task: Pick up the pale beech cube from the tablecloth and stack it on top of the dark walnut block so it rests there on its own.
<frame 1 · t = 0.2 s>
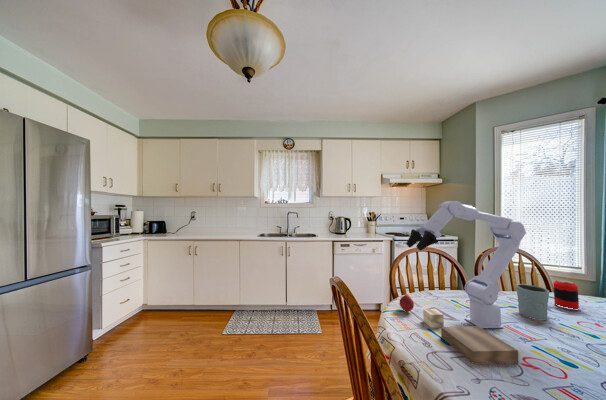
hand: (412, 247, 90), 30 cm above the table, tool tilted 45°, fingers open, 7 cm apart
green plant pot: (533, 316, 97), on the table
pomegranate: (406, 312, 99), on the table
beech cube: (433, 324, 88), on the table
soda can: (566, 307, 106), on the table
walnut block: (476, 350, 72), on the table
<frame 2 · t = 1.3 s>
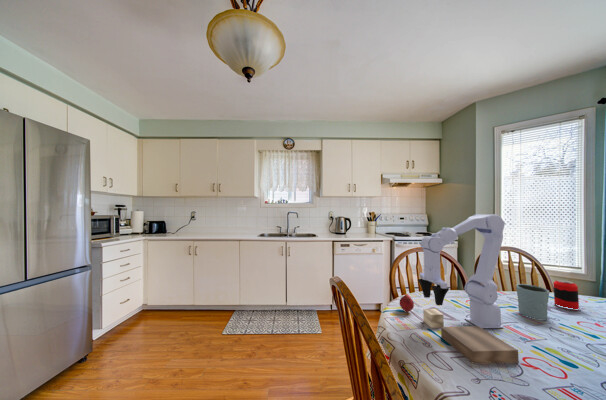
hand: (432, 301, 89), 9 cm above the table, tool pointing down, fingers open, 7 cm apart
nothing on the table moved.
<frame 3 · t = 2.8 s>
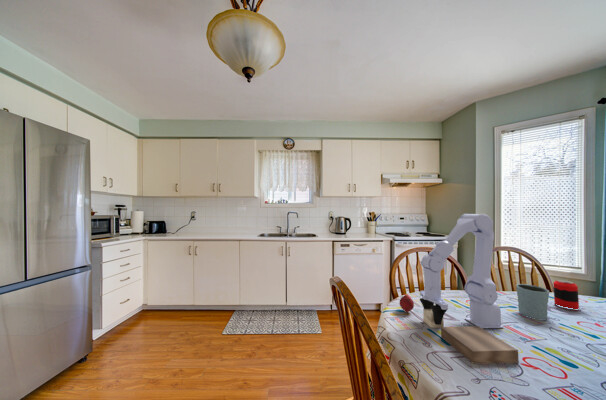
hand: (433, 320, 88), 1 cm above the table, tool pointing down, fingers closed on beech cube, 5 cm apart
beech cube: (433, 324, 88), on the table, touching gripper
everything else where it was.
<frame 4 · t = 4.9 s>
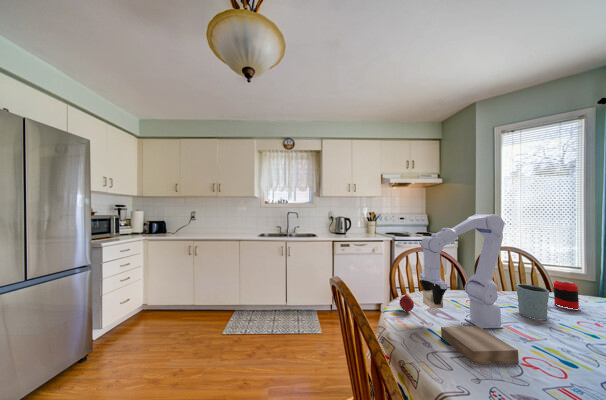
hand: (432, 301, 89), 9 cm above the table, tool pointing down, fingers closed on beech cube, 5 cm apart
beech cube: (432, 305, 89), point 7 cm above the table, touching gripper
everything else where it was.
when the fingers open (7 cm above the table, at t = 7.2 s): beech cube drops 2 cm, resting on walnut block.
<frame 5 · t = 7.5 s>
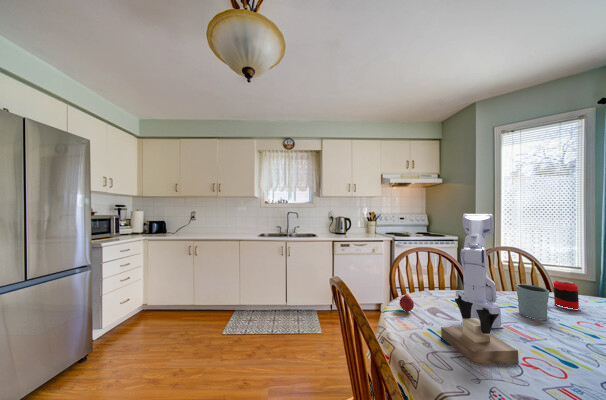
hand: (475, 326, 73), 7 cm above the table, tool pointing down, fingers open, 7 cm apart
beech cube: (476, 337, 73), point 3 cm above the table, touching walnut block
walnut block: (476, 350, 72), on the table, touching beech cube
everything else where it was.
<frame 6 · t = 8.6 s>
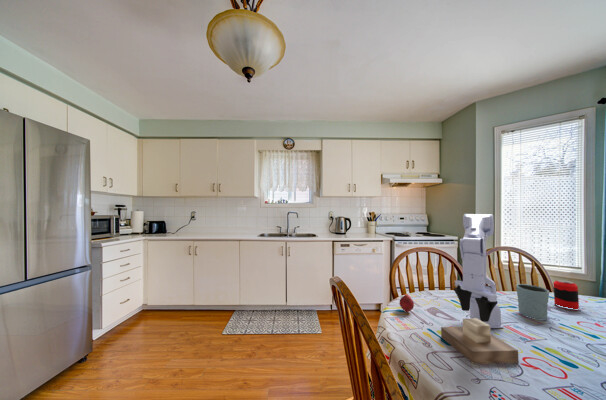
hand: (474, 315, 73), 10 cm above the table, tool pointing down, fingers open, 7 cm apart
nothing on the table moved.
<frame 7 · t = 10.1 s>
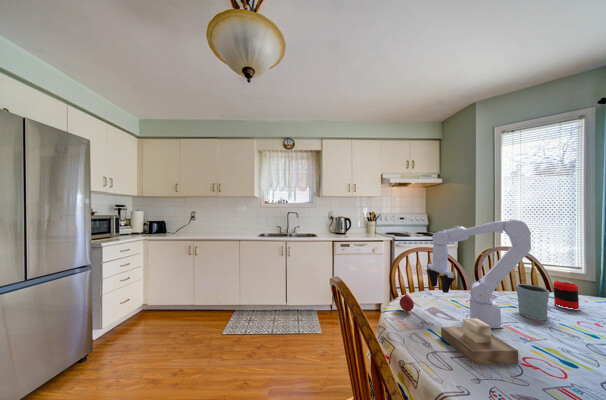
hand: (439, 289, 99), 10 cm above the table, tool pointing down, fingers open, 7 cm apart
nothing on the table moved.
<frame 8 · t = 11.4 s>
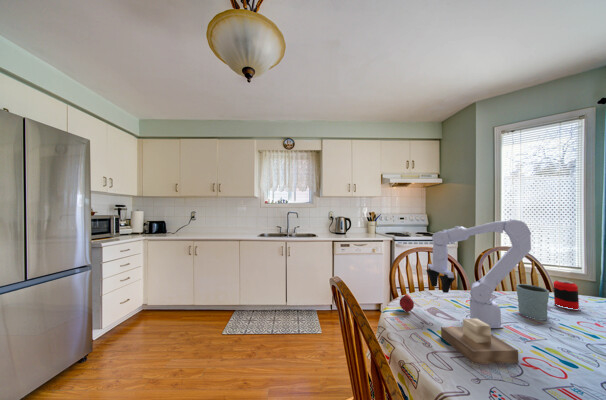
hand: (439, 289, 99), 10 cm above the table, tool pointing down, fingers open, 7 cm apart
beech cube: (476, 338, 72), point 3 cm above the table
walnut block: (476, 350, 72), on the table
everything else where it was.
at the end: beech cube inside the target area on the walnut block (0.3 cm from its centre), point 4.0 cm above the walnut block's base; beech cube tilted 0°; beech cube touching nothing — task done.
